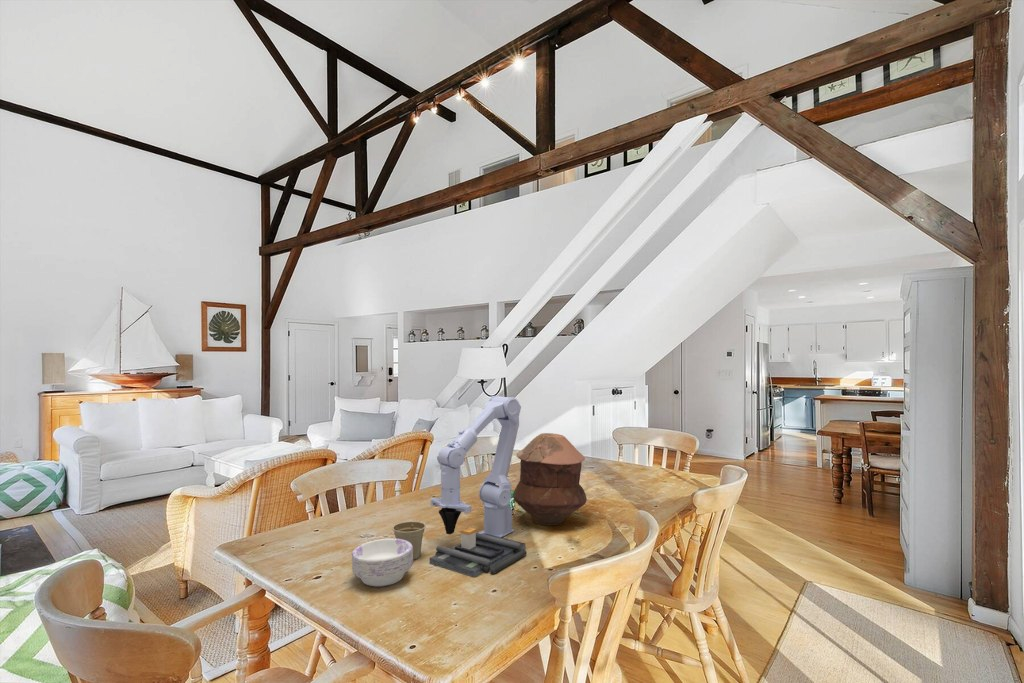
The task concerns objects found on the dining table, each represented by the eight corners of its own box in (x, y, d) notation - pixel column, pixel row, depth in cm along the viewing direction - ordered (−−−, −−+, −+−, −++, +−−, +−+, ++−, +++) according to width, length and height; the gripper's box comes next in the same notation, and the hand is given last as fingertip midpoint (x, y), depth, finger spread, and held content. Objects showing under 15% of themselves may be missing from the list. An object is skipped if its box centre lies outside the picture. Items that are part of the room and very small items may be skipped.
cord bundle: (469, 540, 157) (469, 530, 157) (526, 555, 145) (526, 544, 145) (434, 557, 144) (434, 546, 144) (493, 575, 132) (493, 563, 132)
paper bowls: (343, 576, 132) (343, 545, 132) (397, 562, 141) (397, 533, 141) (365, 599, 119) (365, 564, 120) (423, 581, 129) (423, 549, 129)
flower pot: (390, 553, 147) (390, 523, 147) (422, 548, 150) (422, 519, 151) (394, 565, 138) (394, 533, 139) (428, 560, 142) (428, 529, 142)
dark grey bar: (471, 540, 158) (471, 529, 158) (521, 553, 147) (521, 542, 147) (467, 541, 156) (467, 531, 156) (517, 555, 145) (517, 544, 145)
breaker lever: (467, 544, 150) (467, 527, 150) (476, 546, 148) (476, 529, 148) (460, 547, 147) (460, 530, 147) (469, 549, 145) (469, 532, 145)
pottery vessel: (501, 514, 183) (501, 431, 184) (563, 506, 193) (563, 427, 194) (532, 538, 159) (532, 442, 160) (601, 527, 169) (601, 437, 170)
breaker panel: (483, 537, 160) (483, 530, 160) (525, 548, 151) (525, 541, 151) (429, 563, 140) (429, 555, 140) (474, 577, 131) (474, 569, 131)
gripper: (423, 486, 153) (423, 532, 152) (460, 494, 145) (459, 542, 144) (439, 481, 159) (439, 525, 158) (475, 488, 150) (475, 535, 150)
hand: (450, 533), depth 152 cm, fingers closed
